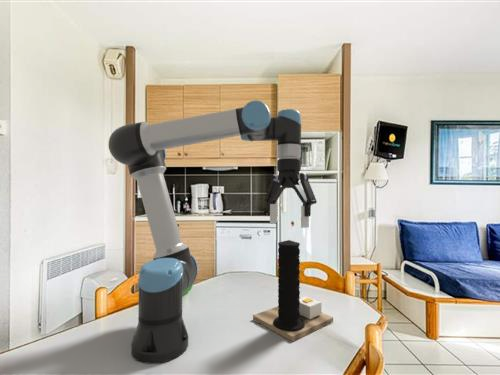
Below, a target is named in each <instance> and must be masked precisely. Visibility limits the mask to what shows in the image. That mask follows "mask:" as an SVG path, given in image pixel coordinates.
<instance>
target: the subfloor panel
mask: <svg viewBox="0 0 500 375" xmlns="http://www.w3.org/2000/svg"><path fill="white" fill-rule="evenodd" d="M278 309H279V308H278V306H275V307H272V308H270V309H267V310H265V311H264V310H263V311H261V312H259V313H255V314H253V315H252V320H253V321H255V322H256V323H258V324H259V325H261V326H263V327H265V328H267V329H269V330H271V331H272V332H274V333H276V334H278V335H280V336H281V337H284V338H285V339H287V340H289V341H290V342H294V341H297V340H299V339H301V338H304V337H305V336H307V335H310V334H312V333H313V332H315V331H317V330H319V329H322V328H324V327H326V326H327V325H329V324H332V323H334V317H333V316H331V315H328V314H326V313H323V311H321V315H318V316H316V317H314V318H311V319H309V318H307V317H304V316H302V315H300V316H299V318H300V319H302V320H303V321H304V323H305V326H304V328H303V329H301V330H298V331H284V330H281V329H278V328H276V327H275V326H274V324H273V321H274V319H275V318H277V317H278Z"/></svg>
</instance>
